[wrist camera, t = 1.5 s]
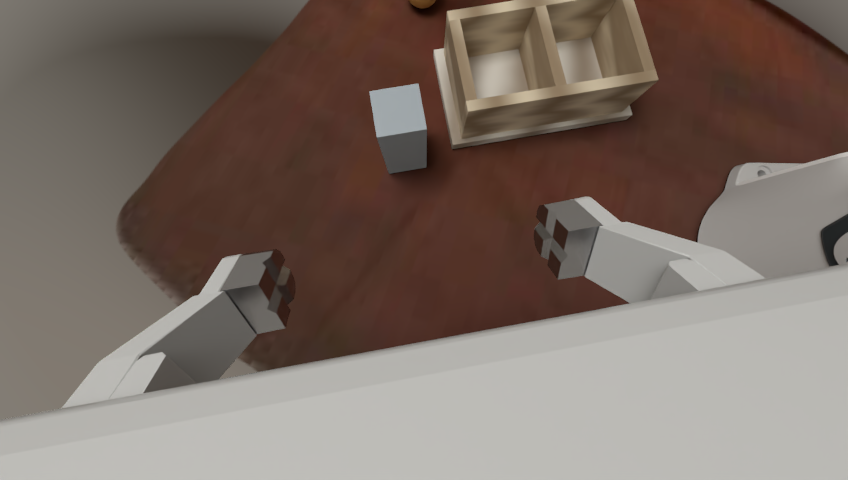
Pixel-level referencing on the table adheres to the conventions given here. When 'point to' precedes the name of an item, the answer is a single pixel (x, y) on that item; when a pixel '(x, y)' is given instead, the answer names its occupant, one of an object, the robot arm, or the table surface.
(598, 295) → the table surface
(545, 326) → the robot arm
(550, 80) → the wooden divided tray
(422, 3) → the figurine
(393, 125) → the grey peg
